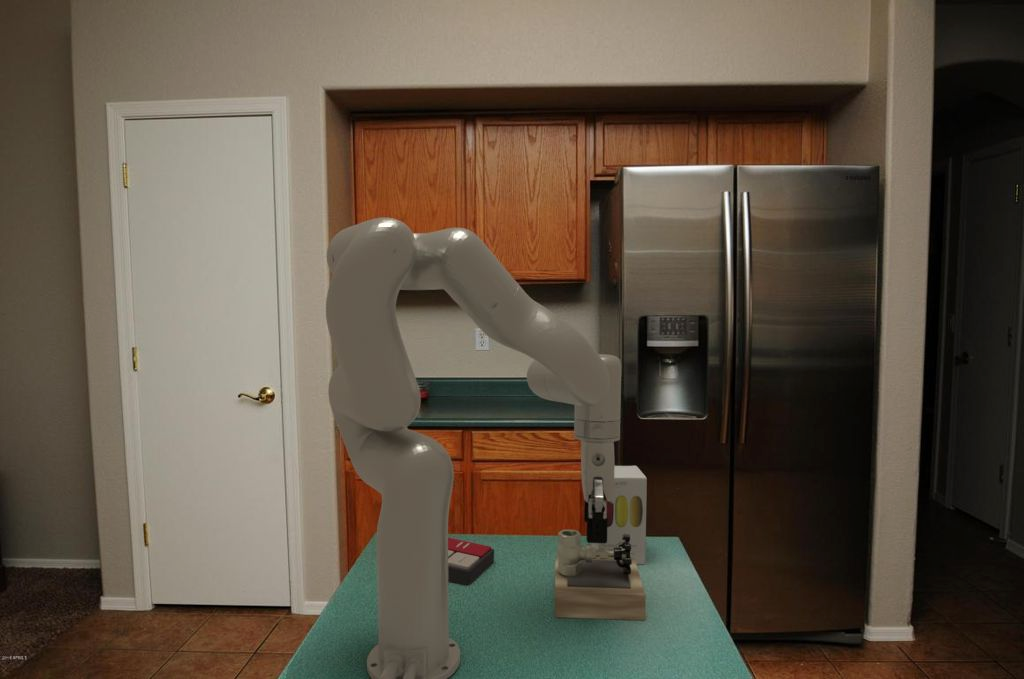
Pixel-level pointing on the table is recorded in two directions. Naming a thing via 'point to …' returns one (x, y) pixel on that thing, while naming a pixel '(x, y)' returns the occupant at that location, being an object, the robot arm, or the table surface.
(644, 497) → the supplement box
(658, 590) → the table surface
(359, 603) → the table surface
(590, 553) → the valve
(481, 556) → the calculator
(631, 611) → the tapered tan tray
